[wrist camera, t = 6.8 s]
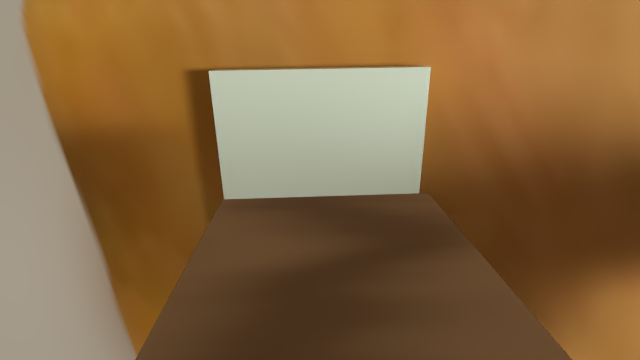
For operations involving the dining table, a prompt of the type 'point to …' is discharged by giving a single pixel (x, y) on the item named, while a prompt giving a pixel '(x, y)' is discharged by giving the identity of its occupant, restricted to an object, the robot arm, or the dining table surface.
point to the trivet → (320, 130)
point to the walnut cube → (342, 287)
